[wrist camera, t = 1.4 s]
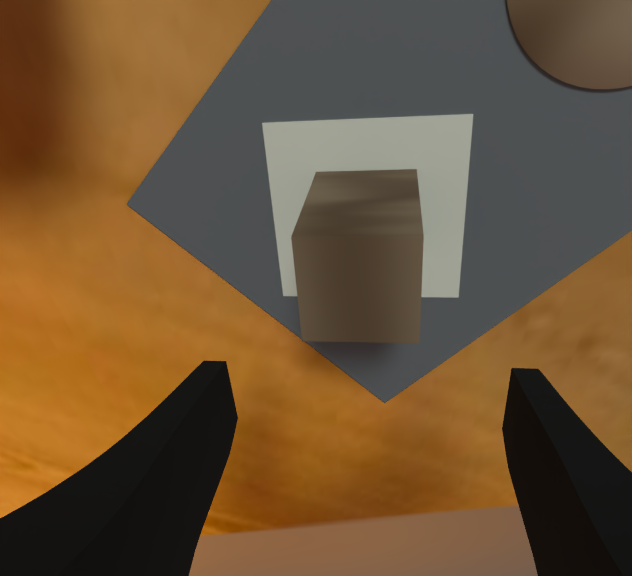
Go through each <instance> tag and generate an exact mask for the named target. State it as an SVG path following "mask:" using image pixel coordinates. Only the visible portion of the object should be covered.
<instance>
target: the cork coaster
mask: <svg viewBox="0 0 632 576" xmlns="http://www.w3.org/2000/svg"><path fill="white" fill-rule="evenodd" d="M507 7H508V12H509V17H510V21H511V24H512V26H513V29H514V32H515V35H516V37H517V38H518V40H519V42H520V44H521V46H522V48H523V49H524V50H525V52H526V53H527V54H528V55H529V57H530V58H531V59H532V60H533V61H534V62H535V63H536V64H537V65H538V66H539V67H540V68H541V69H543V70H544V71H546V72H547V73H549V74H550V75H551V76H553V77H555V78H557V79H559V80H561V81H563V82H565V83H568V84H572V85H575V86H578V87H584V88H590V89H615V88H624V87H628V86H632V0H507Z"/></svg>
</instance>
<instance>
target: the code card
mask: <svg viewBox="0 0 632 576" xmlns="http://www.w3.org/2000/svg"><path fill="white" fill-rule="evenodd" d="M472 125H473V114H458V115H434V116H410V117H387V118H363V119H339V120H315V121H291V122H267V123H262V127H263V135H264V143H265V152H266V160H267V168H268V176H269V184H270V192H271V200H272V209H273V217H274V225H275V233H276V241H277V249H278V258H279V266H280V274H281V282H282V290H283V296H297V288H296V278H295V269H294V259H293V250H292V240H291V236H292V233H293V231H294V228H295V225H296V223H297V220H298V218H299V215H300V212H301V210H302V207H303V205H304V202H305V199H306V197H307V194H308V192H309V189H310V186H311V184H312V181H313V179H314V176H315V173H316V172H328V171H365V170H402V169H417V177H418V186H419V196H420V205H421V215H422V224H423V234H424V241H423V267H422V293H421V297H443V298H458V297H459V285H460V272H461V260H462V248H463V235H464V223H465V211H466V198H467V186H468V174H469V162H470V149H471V137H472Z"/></svg>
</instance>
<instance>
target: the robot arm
mask: <svg viewBox="0 0 632 576" xmlns="http://www.w3.org/2000/svg"><path fill="white" fill-rule="evenodd" d="M237 419H238V417H237V412H236V407H235V402H234V398H233V393H232V388H231V383H230V378H229V373H228V369H227V364H226V361H203V362H202V363H201V364H200V365H199V366H198V367H197V368H196V369H195V370H194V371H193V372H192V373H191V374H190V375H189V376H188V377H187V378H186V379H185V380H184V381H183V382H182V383H181V384H180V385H179V386H178V387H177V388H176V389H175V390H174V391H173V392H172V393H171V394H170V395H169V396H168V397H167V398H166V399H165V400H164V401H163V402H162V403H161V404H160V405H158V406H157V407H156V408H155V409H154V410H153V411H152V412H151V413H150V414H149V415H148V416H147V417H146V418H145V419H144V420H142V421H141V422H140V423H139V424H138V425H137V426H136V427H134V428H133V429H132V430H131V431H130V432H129V433H128V434H126V435H125V436H124V437H123V438H122V439H121V440H119V441H118V442H117V443H116V444H115V445H113V446H112V447H111V448H109V449H108V450H107V451H106V452H104V453H103V454H102V455H100V456H99V457H98V458H96V459H95V460H94V461H92V462H91V463H90V464H88V465H87V466H85V467H84V468H83V469H81V470H80V471H78V472H77V473H75V474H74V475H72V476H70V477H69V478H67V479H66V480H64V481H63V482H61V483H60V484H58V485H57V486H55V487H54V488H52V489H51V490H49V491H48V492H46V493H44V494H43V495H41V496H39V497H38V498H36V499H34V500H32V501H31V502H29V503H27V504H26V505H24V506H22V507H20V508H18V509H17V510H15V511H13V512H11V513H9V514H8V515H6V516H4V517H2V518H0V576H189V572H190V568H191V564H192V560H193V557H194V552H195V549H196V546H197V543H198V540H199V537H200V534H201V531H202V528H203V525H204V522H205V520H206V517H207V514H208V512H209V509H210V506H211V504H212V501H213V498H214V495H215V493H216V490H217V487H218V485H219V482H220V479H221V476H222V474H223V471H224V468H225V465H226V463H227V460H228V457H229V454H230V450H231V446H232V442H233V438H234V433H235V428H236V424H237ZM502 430H503V437H504V444H505V451H506V457H507V463H508V468H509V472H510V476H511V479H512V483H513V487H514V490H515V494H516V497H517V501H518V504H519V508H520V511H521V514H522V518H523V521H524V525H525V529H526V532H527V536H528V539H529V543H530V546H531V550H532V553H533V557H534V561H535V565H536V569H537V574H538V576H632V472H631V471H630V470H629V469H628V468H626V467H625V466H624V465H623V464H622V463H621V462H620V461H619V460H618V459H617V458H616V457H615V456H614V455H613V454H612V453H611V452H610V451H609V450H608V449H607V448H606V446H605V445H604V444H603V443H602V442H601V441H600V440H599V439H598V438H597V437H596V436H595V435H594V434H593V433H592V431H591V430H590V429H589V428H588V427H587V426H586V425H585V424H584V423H583V422H582V420H581V419H580V418H579V417H578V416H577V415H576V414H575V412H574V411H573V410H572V409H571V408H570V407H569V405H568V404H567V403H566V402H565V401H564V399H563V398H562V397H561V396H560V395H559V393H558V392H557V391H556V390H555V388H554V387H553V386H552V385H551V383H550V382H549V381H548V380H547V378H546V377H545V376H544V375H543V373H542V372H541V371H540V370H539V369H524V368H512V369H511V376H510V382H509V389H508V395H507V402H506V408H505V414H504V421H503V427H502Z"/></svg>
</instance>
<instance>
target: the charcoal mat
mask: <svg viewBox="0 0 632 576" xmlns="http://www.w3.org/2000/svg"><path fill="white" fill-rule="evenodd" d="M458 114H473V125H472V137H471V149H470V162H469V174H468V186H467V198H466V211H465V223H464V235H463V248H462V260H461V272H460V285H459V297H458V298H443V297H421V319H420V344H419V343H371V342H323V341H305V342H306V343H308V344H309V345H310V346H311V347H313V348H314V349H315V350H317V351H318V352H319V353H321V354H322V355H323V356H324V357H326V358H327V359H328V360H330V361H331V362H332V363H334V364H335V365H336V366H337V367H339V368H340V369H341V370H343V371H344V372H345V373H346V374H348V375H349V376H350V377H352V378H353V379H354V380H356V381H357V382H358V383H359V384H361V385H362V386H363V387H365V388H366V389H367V390H369V391H370V392H371V393H372V394H374V395H375V396H376V397H378V398H379V399H380V400H382V401H383V402H384V403H386V402H387V401H388V400H390V399H391V398H393V397H394V396H396V395H397V394H398V393H400V392H401V391H403V390H404V389H406V388H407V387H408V386H410V385H411V384H413V383H414V382H416V381H417V380H418V379H420V378H421V377H423V376H424V375H426V374H427V373H428V372H430V371H431V370H433V369H434V368H436V367H437V366H438V365H440V364H441V363H443V362H444V361H446V360H447V359H448V358H450V357H451V356H453V355H454V354H456V353H457V352H458V351H460V350H461V349H463V348H464V347H466V346H467V345H468V344H470V343H471V342H473V341H474V340H476V339H477V338H478V337H480V336H481V335H483V334H484V333H486V332H487V331H488V330H490V329H491V328H493V327H494V326H496V325H497V324H498V323H500V322H501V321H503V320H504V319H506V318H507V317H508V316H510V315H511V314H513V313H514V312H516V311H517V310H518V309H520V308H521V307H523V306H524V305H526V304H527V303H528V302H530V301H531V300H533V299H534V298H536V297H537V296H538V295H540V294H541V293H543V292H544V291H546V290H547V289H548V288H550V287H551V286H553V285H554V284H556V283H557V282H558V281H560V280H561V279H563V278H564V277H566V276H567V275H568V274H570V273H571V272H573V271H574V270H576V269H577V268H578V267H580V266H581V265H583V264H584V263H586V262H587V261H588V260H590V259H591V258H593V257H594V256H596V255H597V254H598V253H600V252H601V251H603V250H604V249H606V248H607V247H608V246H610V245H611V244H613V243H614V242H616V241H617V240H618V239H620V238H621V237H623V236H624V235H626V234H627V233H628V232H630V231H631V230H632V86H628V87H624V88H615V89H590V88H584V87H578V86H575V85H572V84H568V83H565V82H563V81H561V80H559V79H557V78H555V77H553V76H551V75H550V74H549V73H547V72H546V71H544V70H543V69H541V68H540V67H539V66H538V65H537V64H536V63H535V62H534V61H533V60H532V59H531V58H530V57H529V55H528V54H527V53H526V52H525V50H524V49H523V48H522V46H521V44H520V42H519V40H518V38H517V37H516V35H515V32H514V29H513V26H512V24H511V21H510V17H509V12H508V7H507V0H271V2H270V3H269V4H268V6H267V7H266V9H265V10H264V12H263V13H262V14H261V16H260V17H259V19H258V20H257V21H256V23H255V24H254V26H253V27H252V28H251V30H250V31H249V33H248V34H247V35H246V37H245V38H244V40H243V41H242V42H241V44H240V45H239V47H238V48H237V50H236V51H235V52H234V54H233V55H232V57H231V58H230V59H229V61H228V62H227V64H226V65H225V66H224V68H223V69H222V71H221V72H220V73H219V75H218V76H217V78H216V79H215V80H214V82H213V83H212V85H211V86H210V87H209V89H208V90H207V92H206V93H205V95H204V96H203V97H202V99H201V100H200V102H199V103H198V104H197V106H196V107H195V109H194V110H193V111H192V113H191V114H190V116H189V117H188V118H187V120H186V121H185V123H184V124H183V125H182V127H181V128H180V130H179V131H178V132H177V134H176V135H175V137H174V138H173V140H172V141H171V142H170V144H169V145H168V147H167V148H166V149H165V151H164V152H163V154H162V155H161V156H160V158H159V159H158V161H157V162H156V163H155V165H154V166H153V168H152V169H151V170H150V172H149V173H148V175H147V176H146V178H145V179H144V180H143V182H142V183H141V185H140V186H139V187H138V189H137V190H136V192H135V193H134V194H133V196H132V197H131V199H130V200H129V201H128V203H127V205H128V206H129V207H131V208H132V209H133V210H135V211H136V212H137V213H139V214H140V215H141V216H142V217H144V218H145V219H146V220H148V221H149V222H150V223H152V224H153V225H154V226H155V227H157V228H158V229H159V230H161V231H162V232H163V233H165V234H166V235H167V236H168V237H170V238H171V239H172V240H174V241H175V242H176V243H178V244H179V245H180V246H181V247H183V248H184V249H185V250H187V251H188V252H189V253H191V254H192V255H193V256H194V257H196V258H197V259H198V260H200V261H201V262H202V263H204V264H205V265H206V266H207V267H209V268H210V269H211V270H213V271H214V272H215V273H217V274H218V275H219V276H220V277H222V278H223V279H224V280H226V281H227V282H228V283H230V284H231V285H232V286H233V287H235V288H236V289H237V290H239V291H240V292H241V293H243V294H244V295H245V296H246V297H248V298H249V299H250V300H252V301H253V302H254V303H256V304H257V305H258V306H259V307H261V308H262V309H263V310H265V311H266V312H267V313H269V314H270V315H271V316H272V317H274V318H275V319H276V320H278V321H279V322H280V323H282V324H283V325H284V326H285V327H287V328H288V329H289V330H291V331H292V332H293V333H295V334H296V335H297V336H298V337H300V338H301V339H302V335H301V325H300V316H299V306H298V297H297V296H283V290H282V282H281V274H280V266H279V258H278V249H277V241H276V233H275V225H274V217H273V209H272V200H271V192H270V184H269V176H268V168H267V160H266V152H265V143H264V135H263V127H262V123H267V122H291V121H315V120H339V119H363V118H387V117H410V116H434V115H458Z"/></svg>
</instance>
